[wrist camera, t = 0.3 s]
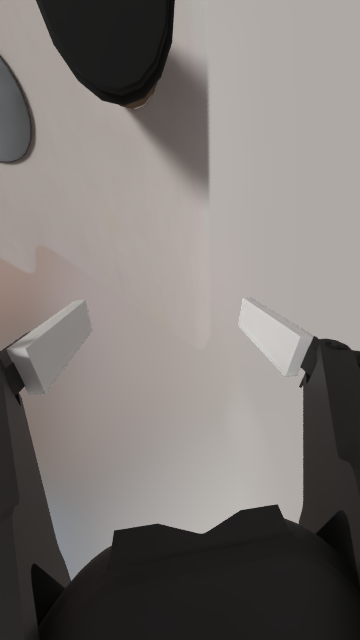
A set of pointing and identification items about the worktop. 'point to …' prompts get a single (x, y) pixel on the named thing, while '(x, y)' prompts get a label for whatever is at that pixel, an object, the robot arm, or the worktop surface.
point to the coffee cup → (113, 44)
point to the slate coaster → (12, 118)
